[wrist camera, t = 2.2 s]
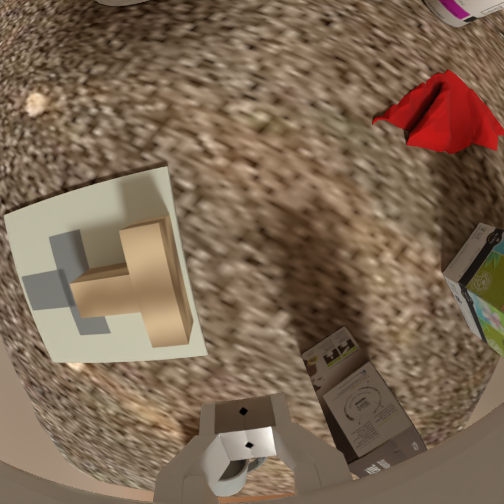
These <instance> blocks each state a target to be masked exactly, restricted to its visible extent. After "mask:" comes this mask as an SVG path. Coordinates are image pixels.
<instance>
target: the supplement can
mask: <svg viewBox="0 0 504 504" xmlns="http://www.w3.org/2000/svg"><path fill="white" fill-rule="evenodd" d="M424 2H425V3H426V5H427V6H428V8H429V9H430V10H431V11H432V12H433V13H434V14H435V15H436V16H437V17H438V18H439V19H440V20H442V21H444V22H445V23H447V24H450V25H451V26H455V27H460V26H463V25H465V24H467V23H470V22H472V21H474V20H476V19H478V18H481V17H483V16H485V15H488V14H490V13H493V12H495V11H497V10H500V9H502V8H504V0H424Z"/></svg>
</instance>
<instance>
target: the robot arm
mask: <svg viewBox="0 0 504 504" xmlns="http://www.w3.org/2000/svg"><path fill="white" fill-rule="evenodd" d="M95 1H97V2H98V3H100V4H103V5H108V6H125V5H132V4H137V3H141V2H145V1H148V0H95ZM274 455H277V457H278V458H279V459H280V460H281V461H283V462H284V463H285V464H286V465H287V466H288V467H289V468H290V469H291V470H292V471H293V472H294V481H295V493H296V495H293V496H288V497H282V498H275V499H269V500H260V501H251V502H241V503H227V504H504V402H503V403H502V404H501V405H499V406H498V407H497V408H495V409H494V410H492V411H491V412H490V413H488V414H487V415H486V416H484V417H483V418H481V419H480V420H478V421H477V422H475V423H474V424H472V425H471V426H469V427H468V428H466V429H464V430H463V431H461V432H459V433H458V434H456V435H454V436H453V437H451V438H449V439H447V440H445V441H444V442H442V443H440V444H438V445H436V446H434V447H433V448H431V449H429V450H427V451H425V452H423V453H421V454H418V455H416V456H414V457H412V458H410V459H408V460H406V461H403V462H401V463H399V464H396V465H394V466H391V467H389V468H386V469H384V470H381V471H379V472H376V473H373V474H371V475H368V476H365V477H362V478H359V479H356V480H353V478H352V475H351V473H350V470H349V468H348V465H347V463H346V460H345V458H344V455H343V453H342V452H340V451H339V450H337V449H335V448H334V447H332V446H331V445H329V444H327V443H326V442H324V441H323V440H321V439H320V438H318V437H317V436H315V435H314V434H312V433H311V432H309V431H308V430H306V429H305V428H303V427H302V426H300V425H299V424H297V423H292V421H291V417H290V413H289V409H288V405H287V401H286V398H285V394H284V393H283V392H282V393H276V394H271V395H266V396H260V397H254V398H247V399H241V400H232V401H221V402H212V403H203V404H202V406H201V416H200V428H199V435H195V436H194V437H193V438H192V439H191V440H190V441H189V443H188V444H187V445H186V446H185V447H184V448H183V449H182V450H181V451H180V452H179V453H178V454H177V455H176V456H175V457H174V458H173V459H172V460H171V461H170V462H169V463H168V464H167V465H166V466H165V467H164V468H163V469H162V470H161V471H160V472H159V473H158V474H157V480H156V486H155V492H154V498H153V502H147V501H139V500H131V499H124V498H118V497H112V496H107V495H102V494H97V493H93V492H89V491H84V490H80V489H76V488H73V487H69V486H66V485H62V484H59V483H56V482H53V481H50V480H47V479H44V478H41V477H39V476H36V475H33V474H30V473H28V472H26V471H23V470H21V469H18V468H16V467H14V466H11V465H9V464H7V463H5V462H3V461H1V460H0V504H221V503H220V502H219V500H218V499H217V497H216V496H215V494H214V493H213V491H212V489H213V488H214V486H215V485H216V483H217V482H218V480H219V479H220V477H221V476H222V474H223V473H224V471H225V470H226V468H227V466H228V465H229V463H230V461H234V460H242V459H250V458H258V457H266V456H274Z"/></svg>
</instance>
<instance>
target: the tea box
mask: <svg viewBox="0 0 504 504" xmlns="http://www.w3.org/2000/svg"><path fill="white" fill-rule="evenodd" d="M443 275H444V277H445V279H446V281H447V283H448V285H449V287H450V289H451V291H452V293H453V295H454V297H455V299H456V301H457V303H458V304H459V307H460V309H461V311H462V313H463V315H464V317H465V319H466V322H467V324H468V325H469V328H470V330H471V331H472V332H473V333H475V334H476V335H477V336H478V337H479V338H481V339H482V340H483V341H484V342H486V343H487V344H488V345H489V346H490V347H492V348H493V349H494V350H495V351H496V352H498V353H499V354H500V355H501V356H502V357H503V358H504V230H501V229H497V228H496V227H493V226H490V225H487V224H484V223H479V224H478V226H477V227H476V229H475V230H474V231H473V233H472V234H471V235H470V237H469V238H468V240H467V241H466V242H465V244H464V245H463V246H462V248H461V249H460V251H459V252H458V253H457V255H456V256H455V257H454V259H453V260H452V261H451V262H450V264H449V265H448V266H447V268H446V269H445V270H444V272H443Z"/></svg>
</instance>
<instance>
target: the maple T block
mask: <svg viewBox="0 0 504 504" xmlns="http://www.w3.org/2000/svg"><path fill="white" fill-rule="evenodd" d="M119 233H120V238H121V242H122V247H123V251H124V255H125V259H126V262H125V263H119V264H113V265H107V266H102V267H96V268H90V269H88V270H87V271H86V272H84V273H83V274H82V275H80V276H79V277H78V278H76V279H75V280H74V281H73V282H71V283H70V287H71V290H72V293H73V296H74V299H75V302H76V305H77V308H78V310H79V313H80V316H81V318H89V317H100V316H110V315H120V314H129V313H138V312H141V315H142V318H143V321H144V324H145V327H146V330H147V333H148V336H149V339H150V342H151V345H152V347H153V348H157V347H168V346H178V345H187V344H189V340H190V336H191V331H192V326H193V322H194V320H193V316H192V312H191V308H190V304H189V300H188V296H187V292H186V288H185V283H184V279H183V275H182V270H181V266H180V261H179V257H178V252H177V247H176V242H175V237H174V232H173V227H172V222H171V217H170V215H167V216H162V217H157V218H152V219H147V220H142V221H137V222H134V223H132V224H130V225H129V226H127V227H125V228H123V229H121V230H119Z"/></svg>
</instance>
